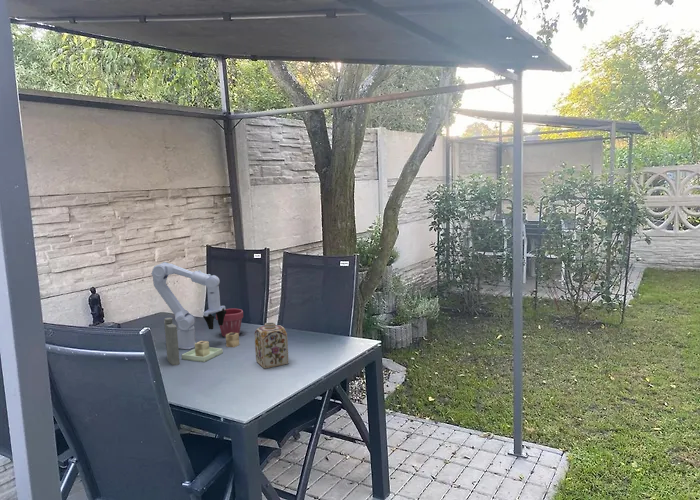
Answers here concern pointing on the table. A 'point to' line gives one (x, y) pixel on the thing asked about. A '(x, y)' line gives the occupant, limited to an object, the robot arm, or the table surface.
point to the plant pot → (231, 321)
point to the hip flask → (171, 341)
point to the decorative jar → (271, 345)
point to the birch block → (202, 348)
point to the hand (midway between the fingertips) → (215, 327)
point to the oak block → (232, 339)
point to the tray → (193, 357)
